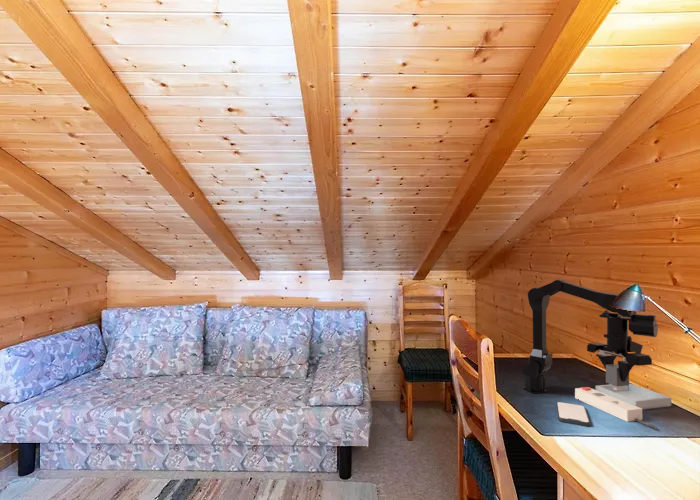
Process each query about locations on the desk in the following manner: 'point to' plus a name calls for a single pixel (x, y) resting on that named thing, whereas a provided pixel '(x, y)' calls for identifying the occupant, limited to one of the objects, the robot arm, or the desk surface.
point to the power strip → (611, 405)
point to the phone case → (572, 414)
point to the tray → (637, 396)
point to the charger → (615, 376)
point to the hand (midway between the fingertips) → (617, 379)
